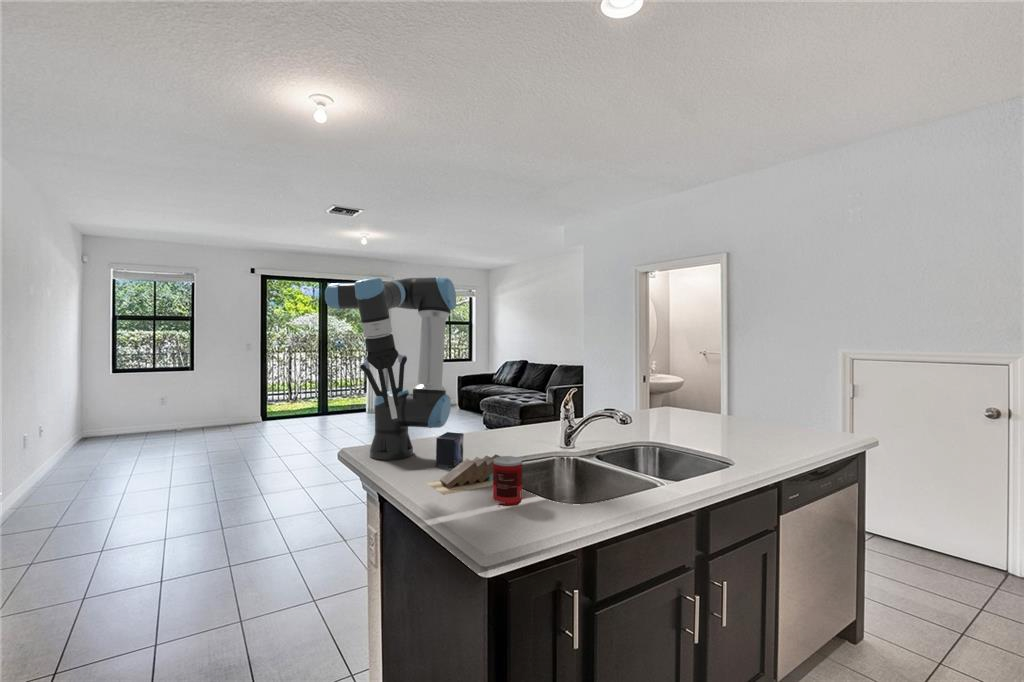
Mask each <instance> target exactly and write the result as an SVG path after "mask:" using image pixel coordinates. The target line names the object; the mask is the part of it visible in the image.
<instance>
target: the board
mask: <svg viewBox="0 0 1024 682" xmlns="http://www.w3.org/2000/svg"><path fill="white" fill-rule="evenodd" d="M425 484H427V485H428V486H429V487H431V488H433V489H434V490H436V491H437V492H439V493H441V494H442V495H449V494H454V493H461V492H464V491H465V492H466V491H469V490H476V489H480V488H486V487H491V486H492V487H493V481H488V480H486V479H485V480H484V481H483V482H481V483H480V482H478V481H475V482H474V483H472V484H471V485H470V484H468V483H467V482H466V483H464V484H463V485H462V486H461V487H460V486H458V485H456V484H455V485H454V486H452V487H451V488H450V489H449V488H448V487H446V486H444V485H443V484H442V483H441V481H440V480H439V479H438V480H433V481H428V482H425Z"/></svg>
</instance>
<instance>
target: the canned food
mask: <svg viewBox="0 0 1024 682" xmlns="http://www.w3.org/2000/svg"><path fill="white" fill-rule="evenodd" d="M500 456H501V455H500ZM492 499H493V501H496V502H497V503H498V502H499V503H498V504H497V506H502V507H514V505H515V506H518V505H519V503H520V504H521V502H522V500H523V459H522V458H520V457H518V456H512V455H503V456H501V457H497V458H494V459H493V485H492Z"/></svg>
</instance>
